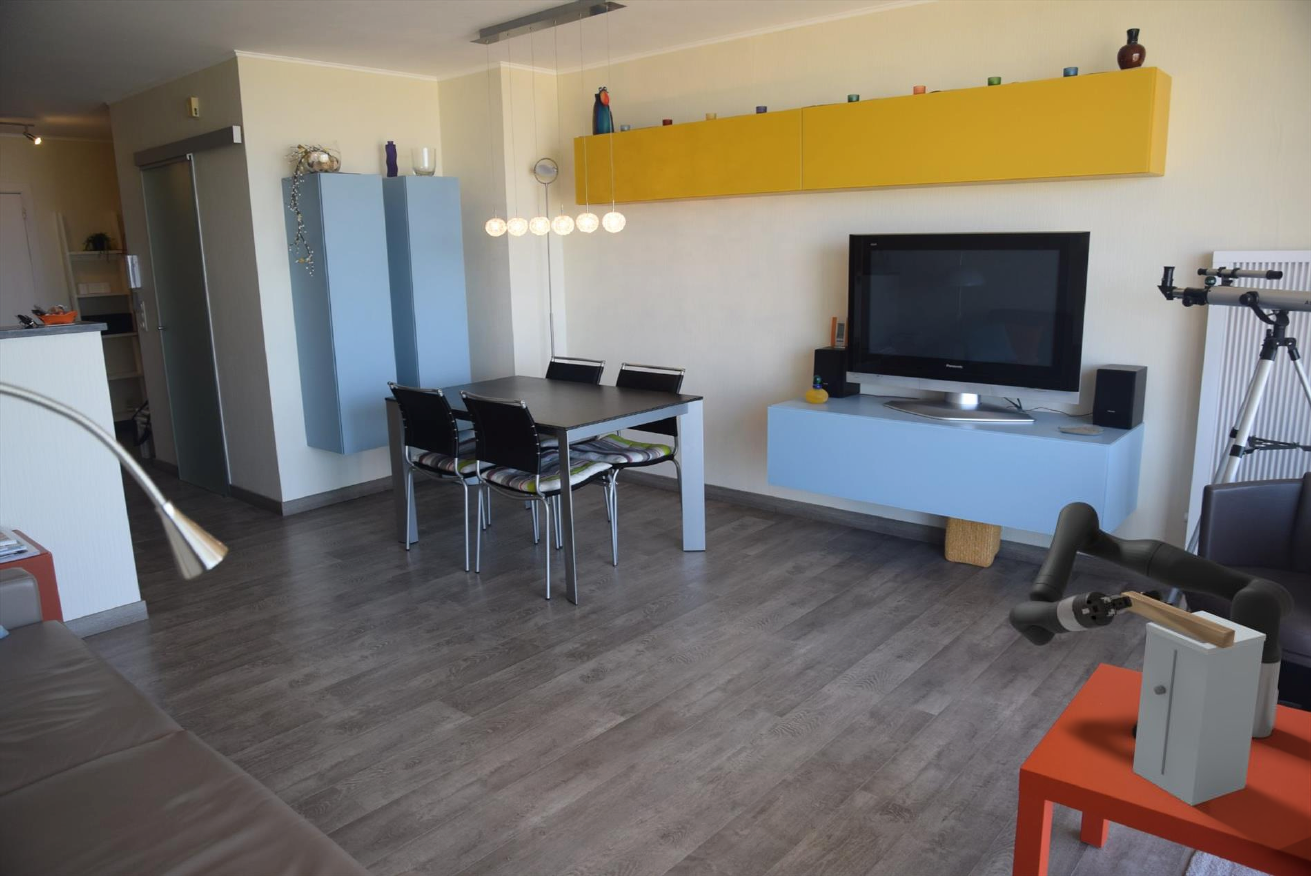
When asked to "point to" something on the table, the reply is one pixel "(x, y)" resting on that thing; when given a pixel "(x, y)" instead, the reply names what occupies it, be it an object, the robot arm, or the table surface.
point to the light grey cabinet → (1197, 711)
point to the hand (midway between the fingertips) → (1145, 597)
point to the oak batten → (1181, 620)
